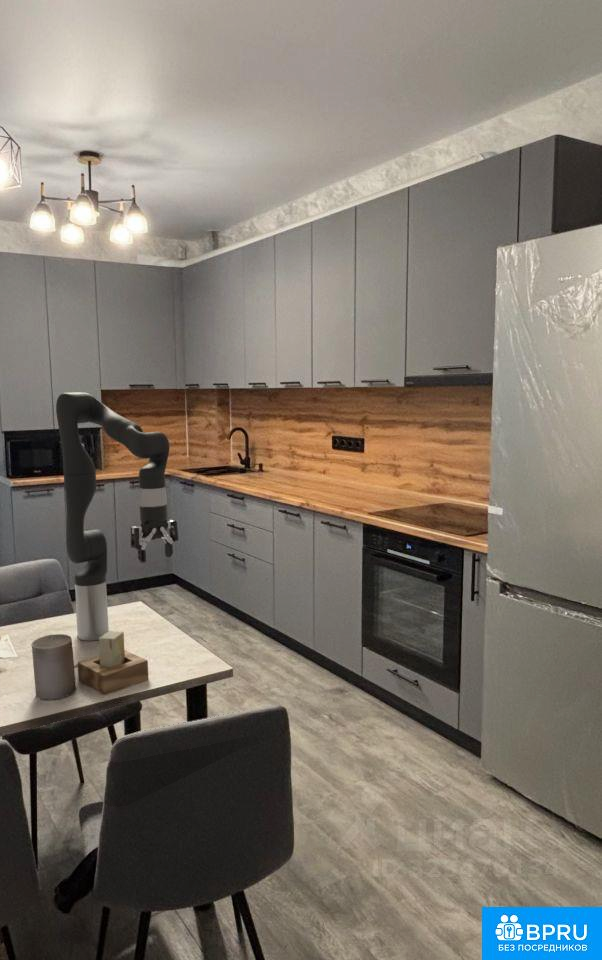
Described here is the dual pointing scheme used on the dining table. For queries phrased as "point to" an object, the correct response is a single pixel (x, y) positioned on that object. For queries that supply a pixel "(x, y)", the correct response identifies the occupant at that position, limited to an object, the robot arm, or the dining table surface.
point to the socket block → (112, 673)
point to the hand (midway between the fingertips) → (155, 559)
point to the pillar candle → (53, 666)
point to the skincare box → (112, 649)
